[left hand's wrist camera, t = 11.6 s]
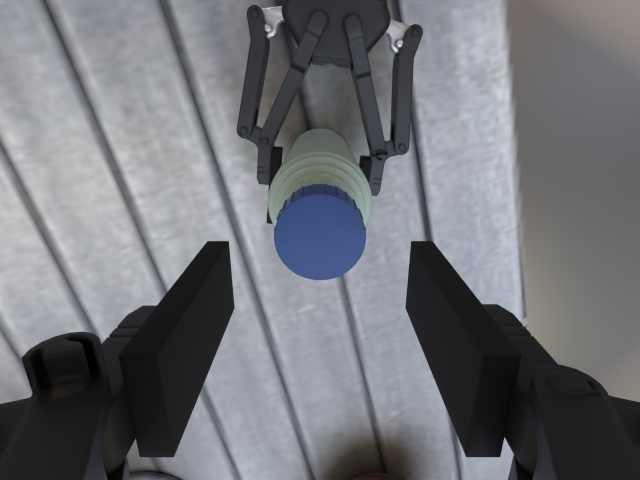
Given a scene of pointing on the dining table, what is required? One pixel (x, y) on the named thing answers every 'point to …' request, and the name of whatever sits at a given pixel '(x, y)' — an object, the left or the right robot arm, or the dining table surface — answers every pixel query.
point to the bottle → (320, 171)
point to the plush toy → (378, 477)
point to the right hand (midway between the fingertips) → (314, 222)
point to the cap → (320, 232)
